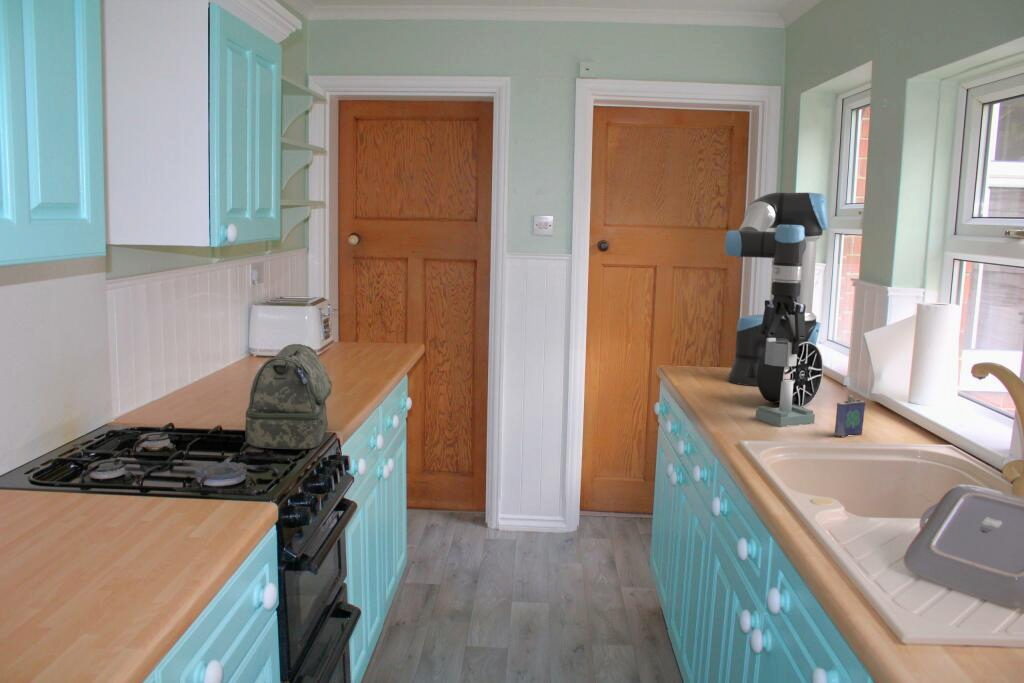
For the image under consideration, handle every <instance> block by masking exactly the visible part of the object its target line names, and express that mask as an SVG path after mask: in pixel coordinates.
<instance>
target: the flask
mask: <svg viewBox="0 0 1024 683" xmlns="http://www.w3.org/2000/svg"><path fill="white" fill-rule="evenodd" d="M846 397H847V398H846V399H847V401H845V400H844V401H839V402H837V403H836V413H835V425H834V433H833V434H834V436H848V435H856V436H862V435H863V427H864V426H863V425H864V421H865V419H864V417H865V416H864V415H865V408H866V401H865V400H862V399H858V398H856V399H854V398H855V396H853V394H852V395H851V394H847V395H846ZM861 434H862V435H861Z"/></svg>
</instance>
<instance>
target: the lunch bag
mask: <svg viewBox="0 0 1024 683" xmlns="http://www.w3.org/2000/svg"><path fill="white" fill-rule="evenodd" d="M332 386H333V384H332V381H331V379H330V377H329V375H328V371H327V369H326V367H325V366H324V364H323V362H322V361H321V359H320V358H319V356H318V354H317V352H316V351H315V350H314V349H313V348H312V347H311V346H308V345H306V344H301V343H292V344H289V345H286V346H284V347H283V348H282V349H281V350H280V351H278V353H276V354H275V356H273V357H271V358H269V359H268V360H266V361H265V362H263V364H262V366H260V367H259V369H258V371H257V372H256V374H255V376H254V378H253V381H252V384H251V387H250V388H251V389H250V393H249V403H248V408H247V409H246V411H245V441H246V442H247V443H248V445H250V446H252V447H254V448H259V449H260V448H261V449H264V448H265V449H274V450H275V449H279V450H310V449H314V448H315V449H316V448H317V447H318V446H320V444H321V443H322V441H323V438H324V436H325V434H326V431H327V428H328V425H329V422H328V416H327V403H326V401H327V399H328V397H330V395H331V393H332V388H333V387H332Z"/></svg>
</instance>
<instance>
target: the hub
mask: <svg viewBox="0 0 1024 683" xmlns="http://www.w3.org/2000/svg"><path fill="white" fill-rule="evenodd" d="M787 354H788V342H787V341H767V342H766V352H765V364H768V365H772V366H783V367H786V368H787V367H790V366H787Z"/></svg>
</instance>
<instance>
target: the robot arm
mask: <svg viewBox="0 0 1024 683" xmlns="http://www.w3.org/2000/svg"><path fill="white" fill-rule="evenodd" d="M827 204H828V203H827V198H826V196H825V195H824V194H823V193H819V192H818V193H817V192H771V193H767V194H765V195H762V196H760V197H759V198H756V199H755V200H752V202H750V204H748V206H747V207H746V209H745V212H744V217H743V218H744V219H743V221H742V223H741V225H740V226H739V229H735V230H728V231H727V232H726V233H725V234H726V235H725V238H724V240H725V241H724V253H725V254H726V256H727V257H736V258H759V259H760V258H761V259H762V258H764V259H773V265H772V280H773V281H772V283H771V290H770V293H771V295H772V296H773V297H772V299H766V300H764V311H763V314H753V315H752V314H751V315H745V316H742V317H740V318H739V319H738V321H737V327H736V330H735V331H736V341H735V342H736V343H735V357H734V361H733V364H732V367H731V370H730V372H729V374H728V381H729V380H730V381H732V382H731V383H733V382H735V383H734V384H736V383H740V384H739V385H742V384H746V385H745V386H750V385H754V386H753V387H758V383H757V370H758V364H759V361H760V358H761V356H762V353H763V352H764V350H765V348H766V342H767V341H776V339H778V338H784V339H787V340H789V342H788V354H787V366H796V363H797V354H798V353H799V343H800V342H801V341H807V342H811V343H813V344H815V345H816V346H817V341H818V338H819V333H820V328H821V322H820V321H817V316H816V314H814V312H813V301H814V287H815V272H816V256H817V242H818V240H819V239H820V238H822V236H823V231H827V230H828V226H829V224H828V219H829V218H828V205H827ZM768 229H775V231H767V230H768ZM730 381H729V382H730Z"/></svg>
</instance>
